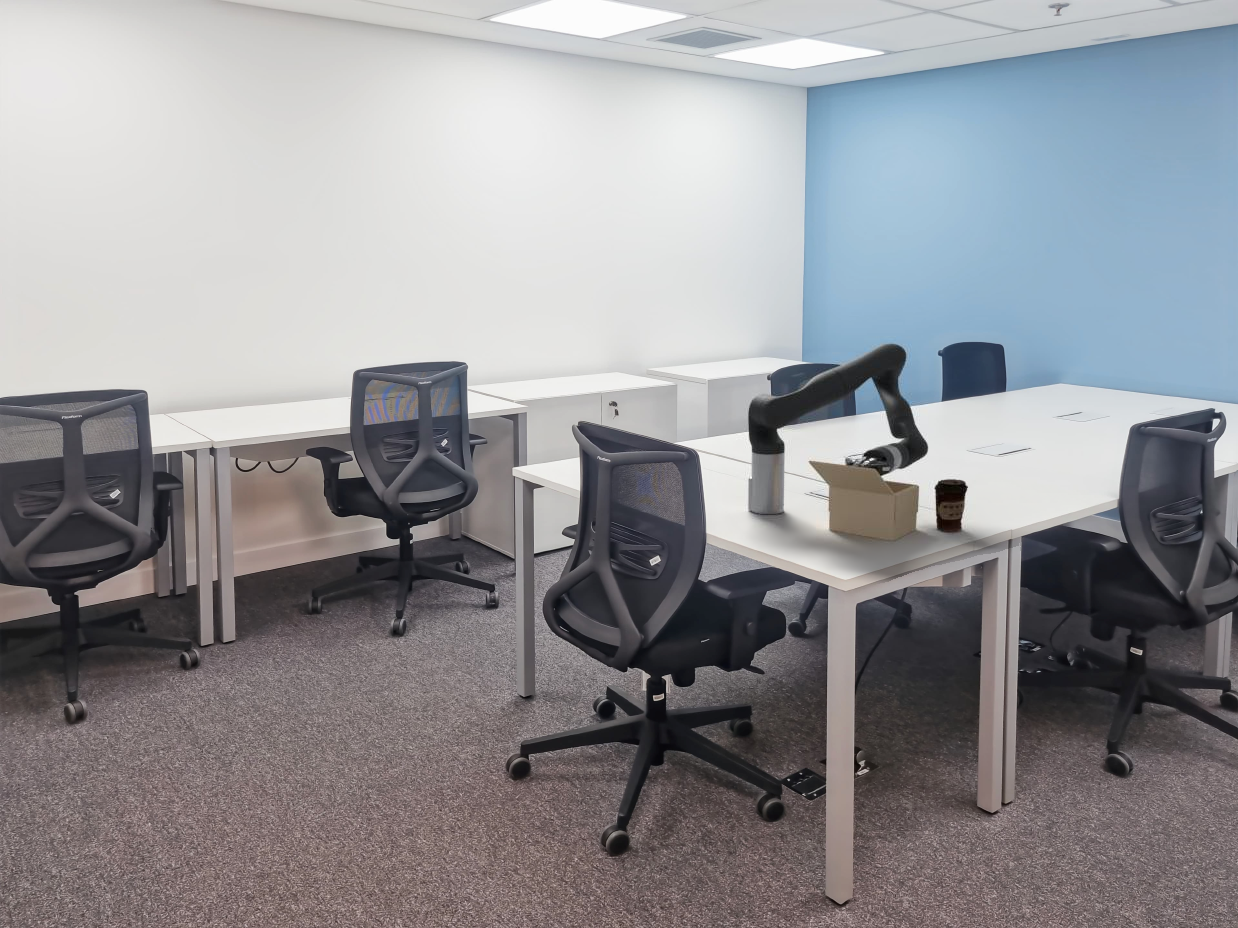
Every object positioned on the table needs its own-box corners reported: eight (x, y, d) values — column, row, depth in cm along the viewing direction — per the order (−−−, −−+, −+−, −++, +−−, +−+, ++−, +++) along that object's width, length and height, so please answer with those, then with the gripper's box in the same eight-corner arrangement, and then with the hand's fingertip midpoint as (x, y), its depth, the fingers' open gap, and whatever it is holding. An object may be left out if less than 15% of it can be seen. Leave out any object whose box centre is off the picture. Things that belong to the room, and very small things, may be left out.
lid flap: (830, 484, 264) (829, 486, 264) (809, 460, 254) (808, 462, 254) (894, 493, 253) (893, 495, 252) (875, 468, 243) (874, 470, 242)
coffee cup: (971, 533, 261) (974, 484, 258) (939, 534, 260) (942, 485, 258) (958, 524, 269) (961, 477, 267) (928, 525, 269) (930, 478, 266)
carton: (827, 529, 267) (828, 485, 264) (852, 518, 277) (853, 476, 275) (894, 541, 255) (896, 495, 252) (918, 529, 265) (919, 485, 263)
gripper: (859, 444, 269) (827, 453, 256) (906, 449, 261) (875, 459, 248) (858, 471, 270) (826, 482, 258) (904, 477, 262) (874, 489, 249)
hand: (850, 471), depth 253 cm, fingers closed
